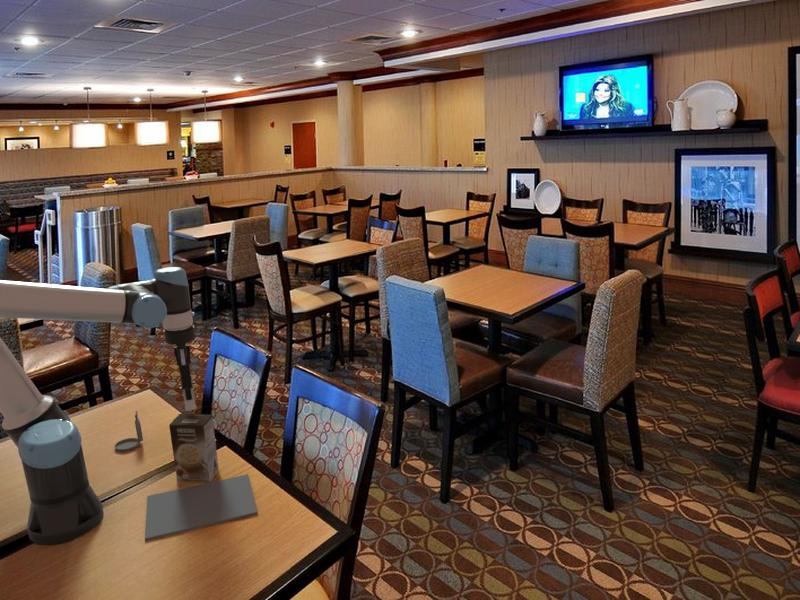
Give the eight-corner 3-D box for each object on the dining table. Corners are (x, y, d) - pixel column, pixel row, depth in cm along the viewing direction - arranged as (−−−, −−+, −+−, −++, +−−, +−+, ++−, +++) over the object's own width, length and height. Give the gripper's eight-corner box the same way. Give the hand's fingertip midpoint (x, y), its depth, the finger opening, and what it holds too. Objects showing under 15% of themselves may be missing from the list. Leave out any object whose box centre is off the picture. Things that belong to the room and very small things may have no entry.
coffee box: (175, 482, 152) (166, 424, 148) (186, 469, 158) (178, 413, 154) (210, 483, 151) (202, 425, 147) (220, 469, 157) (213, 413, 153)
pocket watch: (109, 449, 170) (104, 417, 167) (134, 436, 177) (129, 405, 175) (129, 455, 166) (123, 422, 164) (154, 442, 173) (149, 410, 171)
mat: (145, 541, 130) (144, 538, 130) (147, 498, 146) (147, 495, 145) (257, 514, 138) (257, 511, 138) (248, 476, 154) (248, 474, 153)
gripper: (194, 331, 152) (206, 416, 158) (192, 318, 164) (203, 397, 170) (163, 335, 150) (176, 421, 156) (163, 321, 162) (175, 402, 168)
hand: (190, 409), depth 163 cm, fingers closed
